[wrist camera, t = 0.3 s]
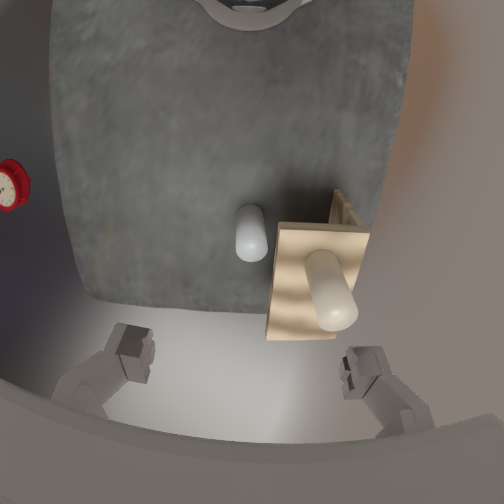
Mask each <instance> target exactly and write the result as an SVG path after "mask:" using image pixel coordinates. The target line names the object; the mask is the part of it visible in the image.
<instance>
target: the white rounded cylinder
mask: <svg viewBox="0 0 504 504" xmlns="http://www.w3.org/2000/svg"><path fill="white" fill-rule="evenodd" d="M304 270H305V274H306V277H307V281H308V285H309V289H310V292H311V296H312V300H313V304H314V308H315V312H316V316H317V320H318V324H319V326H320V327H321V328H322V329H324V330H326V331H340V330H343V329H345V328H347V327H349V326H350V325H352V324H353V323H354V322H355V320H356V319H357V316H358V309H357V307H356V304H355V302H354V299H353V296H352V294H351V292H350V289H349V287H348V284H347V282H346V279H345V277H344V274H343V272H342V270H341V267H340V265H339V262H338V260H337V258H336V256H335V254H334V253H333V252H331V251H330V250H326V249H320V250H316V251H314V252H312V253H310V254H309V255H308V256H307V257H306V259H305V261H304Z"/></svg>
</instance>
